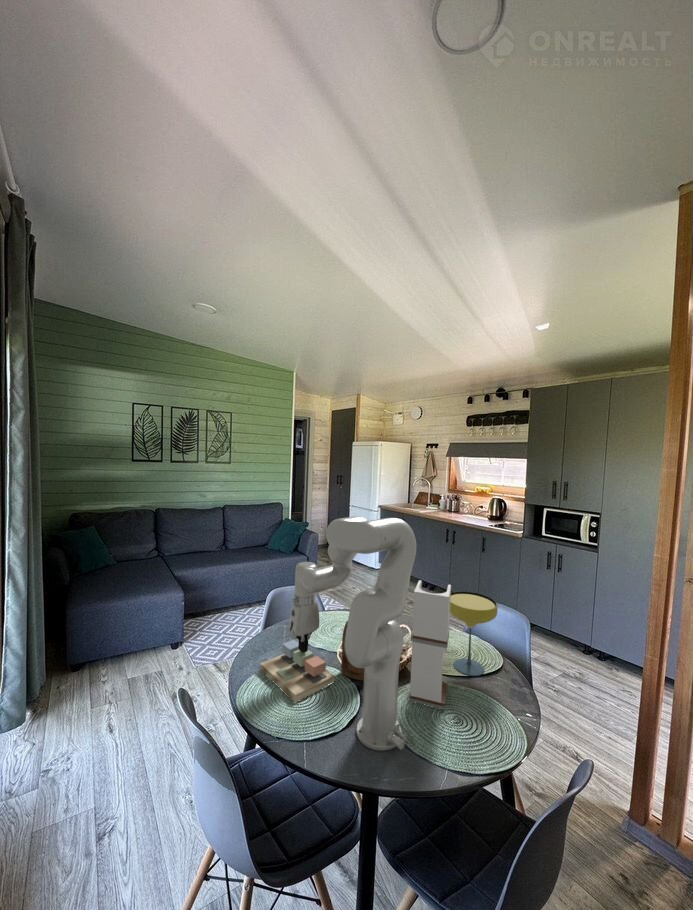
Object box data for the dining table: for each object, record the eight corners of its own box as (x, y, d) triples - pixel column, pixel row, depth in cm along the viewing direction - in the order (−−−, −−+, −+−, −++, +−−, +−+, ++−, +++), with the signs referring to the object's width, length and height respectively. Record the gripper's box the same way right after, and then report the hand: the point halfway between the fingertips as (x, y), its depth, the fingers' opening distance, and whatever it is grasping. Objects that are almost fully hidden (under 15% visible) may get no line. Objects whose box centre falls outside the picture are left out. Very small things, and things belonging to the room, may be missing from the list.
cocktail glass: (491, 658, 144) (494, 594, 144) (498, 686, 127) (501, 613, 127) (443, 651, 149) (445, 588, 149) (444, 677, 131) (446, 606, 131)
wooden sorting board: (334, 683, 126) (335, 674, 125) (295, 703, 115) (295, 693, 115) (297, 655, 142) (297, 647, 142) (259, 670, 131) (260, 662, 131)
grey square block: (301, 653, 135) (301, 645, 135) (289, 658, 132) (290, 649, 132) (293, 647, 139) (293, 639, 139) (282, 652, 135) (282, 643, 135)
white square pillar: (444, 710, 114) (448, 596, 114) (409, 701, 117) (414, 591, 117) (446, 688, 125) (450, 584, 125) (415, 681, 128) (419, 580, 128)
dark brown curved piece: (373, 672, 133) (375, 616, 133) (368, 684, 126) (370, 625, 126) (344, 665, 136) (346, 611, 136) (338, 677, 129) (340, 619, 129)
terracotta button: (325, 671, 125) (325, 662, 125) (313, 676, 121) (313, 667, 121) (316, 664, 128) (316, 655, 128) (304, 669, 125) (304, 660, 125)
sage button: (312, 661, 130) (313, 653, 130) (301, 666, 126) (301, 658, 126) (304, 655, 134) (304, 647, 133) (292, 660, 130) (293, 651, 130)
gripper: (293, 607, 122) (291, 663, 122) (328, 597, 132) (326, 648, 132) (281, 600, 128) (278, 653, 128) (315, 590, 138) (313, 639, 138)
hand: (303, 650), depth 130 cm, fingers closed
